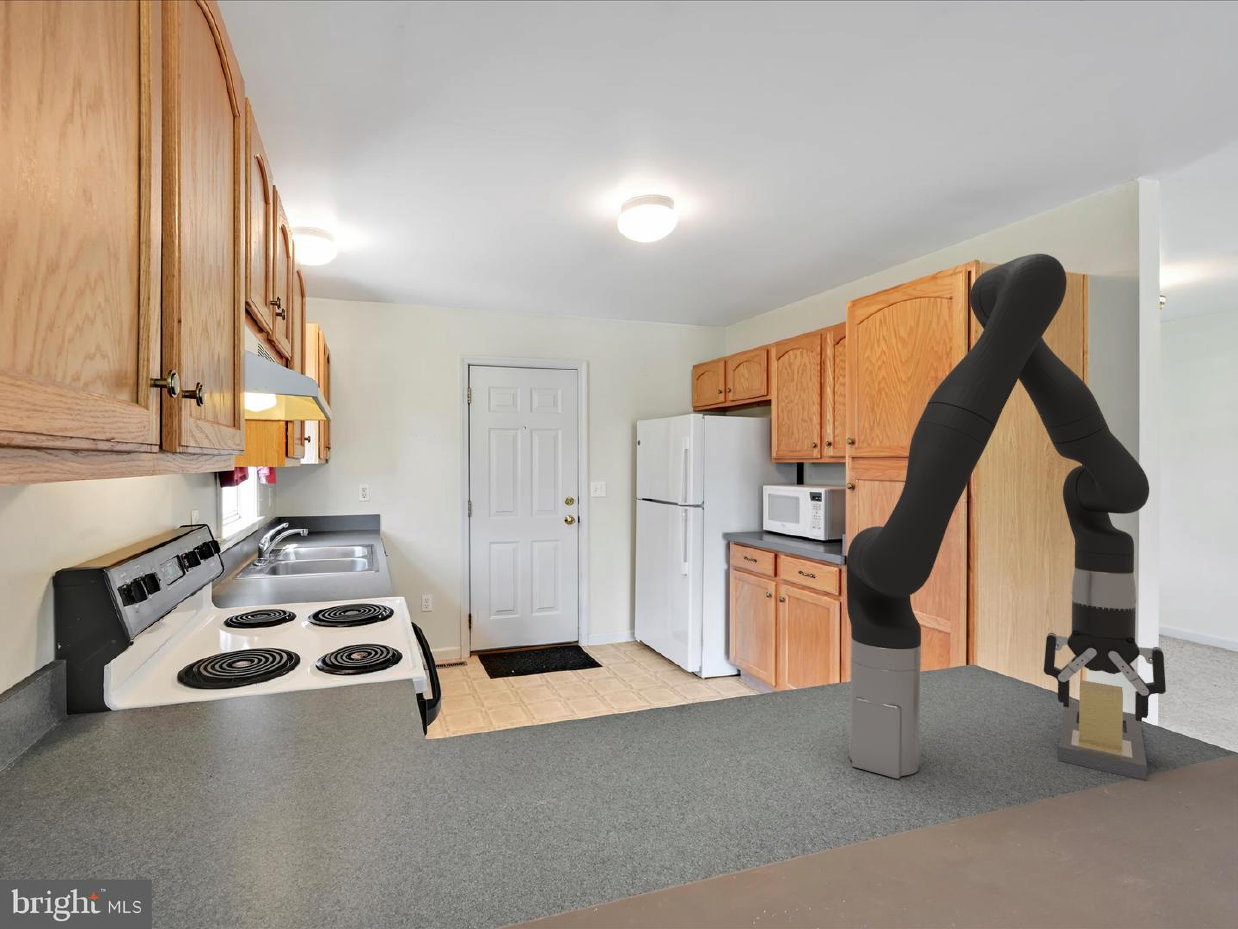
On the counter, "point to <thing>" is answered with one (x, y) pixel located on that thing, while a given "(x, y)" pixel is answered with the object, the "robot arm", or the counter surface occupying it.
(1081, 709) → the yellow wooden block
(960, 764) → the counter surface
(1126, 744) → the grey slotted holder
